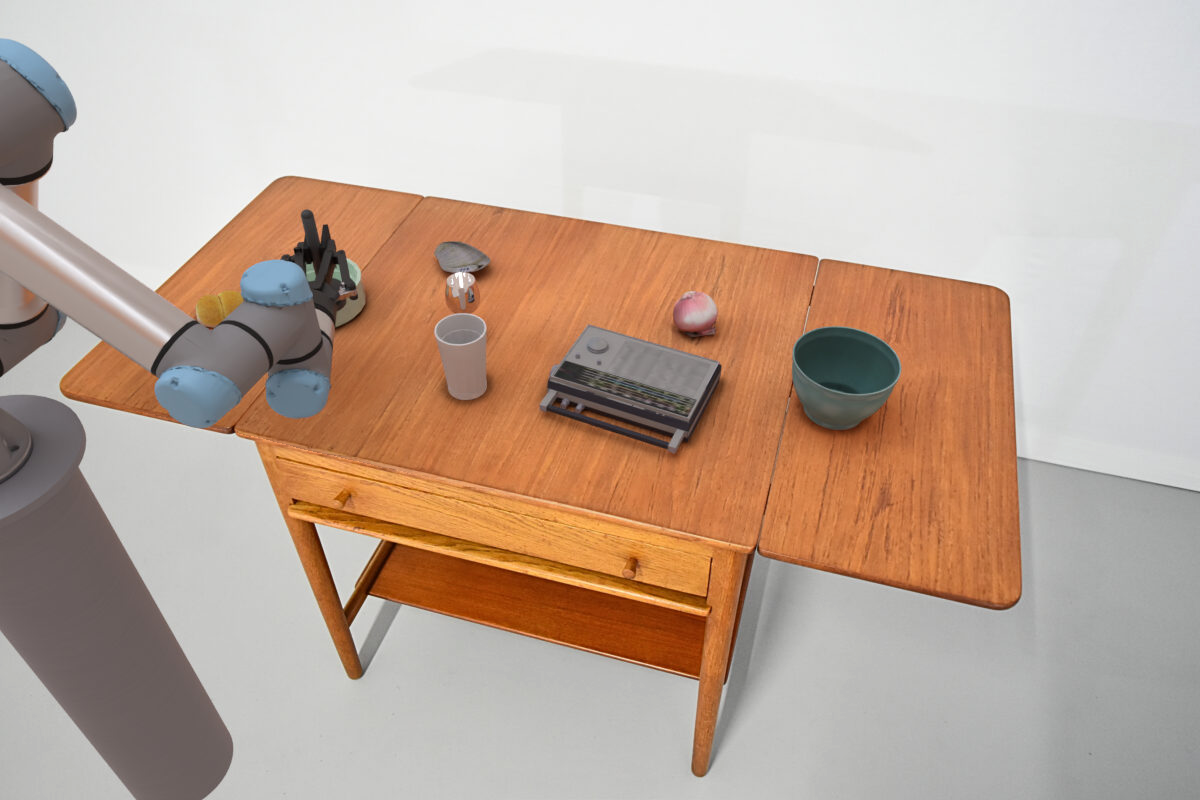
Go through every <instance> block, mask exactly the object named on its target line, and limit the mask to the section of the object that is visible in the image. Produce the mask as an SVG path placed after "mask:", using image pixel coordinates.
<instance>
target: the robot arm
mask: <svg viewBox="0 0 1200 800" xmlns="http://www.w3.org/2000/svg"><path fill="white" fill-rule="evenodd" d="M77 117H78V109H77V105H76V101H75V99H74V96H73V94H72V92H71V90H70V88H69V87H68V85H67V83H66V81H64V80H63V79H62V77H61V75H60V74H59V72H58V71H57V70H56V69H55V68H54V67H53V66H52V65H51V63H49V62H48V61H47V60H46V59H45V58H44V57H43V56H42V55H41V54H39V53H37V51H35V50H34V49H32V48H30V47H29V46H27V45H25V44H24V43H21V42H20V41H16V40H14V39H11V38H2V37H1V38H0V378H2V377H3V376H4V375H5V374H7V373H8V372H9V371H11V370H12V369H14V368H15V367H16V366H17V365H18V364H21V363H22V361H24V360H25V359H26V358H28V357H29V356H30V355H32V354H33V353H34V352H36V351H37V350H38V349H40V348H41V347H43V346H44V345H46V344H48V343H49V342H51V341H53V338H55V337H56V335H57V334H58V333H59V332H60V331H61V330H62V329H64V327H65V325H66V323H67V318H69V319H70V320H72V321H73V322H74V323H76V324H77V325H79V326H80V327H82V328H83V329H85V330H86V331H88V332H89V333H91V334H92V335H94V336H95V337H97V338H98V339H100V340H101V341H103V342H104V343H105V344H107V345H109V346H110V347H112V348H113V349H114V350H116V351H117V352H119V353H120V354H122V355H123V356H125V357H126V358H128V359H130V360H131V361H132V362H133V363H135V364H136V365H138V366H139V367H140V368H143V369H144V370H146V372H149V373H151V375H153V376H154V377H156V378H157V380H156V382H155V384H154V395H155V398H156V400H157V402H158V404H159V405H160V406H161V407H162V408H163V409H165V410H166V411H167V412H168V415H169V416H170V417H171V418H173V419H174V420H175V421H177V422H179V423H180V424H183V425H185V426H187V427H190V428H195V429H206V428H209V427H212V426H214V425H215V424H216V423H218V422H219V421H220V420H222V418H223V417H225V416H226V415H227V414H228V413H229V412H230V411H232V409H234V408H236V406H238V405H239V404H240V403H241V401H242V400H243V398H244V397H245V396H246V395H247V394H248V393H249V392H250V391H251V389H253V387H254V386H255V385H257V383H258V382H259V381H260V380H261V379H262V378H263V377H264V376H265V375H266V374H267V379H266V380H265V384H264V386H265V399H266V402H267V404H268V405H269V407H270V408H271V410H273V412H275V413H276V414H278V415H280V416H282V417H285V418H288V419H296V420H299V419H308V418H312V417H314V416H317V415H318V414H319V413H321V412H322V411H323V410H324V409H325V407H326V406H327V403H328V399H329V395H330V391H331V388H332V384H331V378H332V366H333V365H332V364H333V352H334V343H335V334H336V327H335V325H336V315H337V308H338V307H339V306H340V304H341V300H343V299H346V298H350V299H351V300H357V299H358V293H357V288H356V284H355V282H354V281H353V280H352V279H351V278H350V274H349V268H348V263H347V259H346V258H347V254H346V251H345V250H344V249H339V250H337V244H336V241H335V239H334V238H332V237H331V232H330V227H329V224H327V223H326V224H322V229H321V236H320V244H321V245H320V251H321V255H322V262H321V265H320V269H319V272H318V274H316V278H315V281H308V280H307V275H306V264H312V259H311V255H310V251H309V247H308V243H307V239H306V235H305V234H304V239H303V241H298V242H297V244H296V246H294V247H293V254H292V255H290V254H289V253H287V254H285V253H284V254H282V255H281V257H280V259H268V260H267V259H266V260H264V261H260V262H257V263H255V264H253V265H250V267H248V268H247V269H246V270H244V272H243V273H242V275H241V277H240V281H239V287H240V288H239V289H240V293H241V296H242V297H243V300H244V301H243V303H242V304H240V305H239V306H238V307H237V308H236V309H235V310H234V311H233V312H232V313H231V314H229V315H228V316H227V317H226V318H225V319H224V320H223V321H222V322H221V323H219V324H218V325H217V326H216V327H214V328H212V329H209V327H206V326H204V325H202V324H200V323H199V322H198V320H196V319H195V318H193V317H192V316H191V315H189V314H187V313H186V312H185V311H183V310H182V309H180V308H179V307H177V306H176V305H175V304H173V303H172V302H170V301H169V300H168V299H166V298H164V297H163V296H162V295H160V294H159V293H158V292H156V291H155V290H153V289H152V288H150V287H149V286H147V285H146V284H144V282H142V281H140V280H139V279H138V278H136V277H135V276H133V275H132V274H130V273H129V272H127V271H126V270H125V269H123V268H122V267H120V266H119V265H117V264H116V263H114V262H113V261H112V260H110V259H109V258H108V257H106V256H105V255H103V254H101V253H100V252H99V251H97V250H96V249H94V248H93V247H92V246H91V245H89V244H88V243H86V242H85V241H83V240H82V239H80V237H78V236H76V235H74V234H73V233H72V232H71V231H69V230H68V229H66V228H65V227H63V226H62V225H60V224H59V223H57V222H56V221H55V220H53V219H52V218H51V217H49V216H48V215H46V214H45V213H43V212H42V211H40V210H39V180H41V179H43V178H44V177H46V175H47V174H48V173H49V172H50V170H51V169H52V166H53V162H54V142H55V138H56V137H57V135H59V134H61V133H65V132H68V131H69V130H70V128H71V127H72V126H73V125H75V122H76V121H77ZM336 264H337V265H339V268H340V274H341V279H342V282H341V286H340V290H339V291H337V290H335V289H334V288H333V287H332V286H330V285H331V281H332V277H333V273H334V269H335V267H336V268H337V266H336ZM33 446H34V444H33V439H32V436H31V435H30V433H29V431H28V430H27V428H26V427H25V426H24V425H23V424H22V423H21V422H20V421H19V420H17V419H16V418H15V417H13V416H12V415H10V414H9V413H8V412H6V411H5V410H4V409H2V408H1V407H0V484H2V483H3V482H5V481H7V480H8V479H10V478H11V477H12V476H14V475H15V474H16V473H17V472H18V471H19V470H20V469H21V468H22V467H23V466H24V465H25V464H26V463H27V461H28V460H29V458H30V456H31V454H32V451H33Z"/></svg>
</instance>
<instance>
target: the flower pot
mask: <svg viewBox="0 0 1200 800" xmlns="http://www.w3.org/2000/svg"><path fill="white" fill-rule="evenodd" d="M791 357H792V358H791V360H792V364H791V378H792V384H793V388H794V392H795V393H796V396H797V398H798V400H799V402H800V403H801V405H802V408H803V412H804V413H805V415H806V417H808V419H809V420H810V421H812V422H813V423H814V424H816V425H818V426H820V427H822V428H825V429H829V430H832V431H833V430H834V431H845V430H850V429H853V428H855V427H857V426H858V425H859V424H861V422H862V421H864V420H866V419H868V418H869V417H871V416H872V415H874V414H875V413H877V411H879V410H880V409H881V408H882V407H883V406H884V405H885V403H886V402H887V401H888V400H889V398H890V396H891V395H892V393H893V390H894V388H895V387H896V385H897V384H898V382H899V380H900V377H901V375H902V362H901V360H900V357H899V355H898V354H897V352H896V351H895V350H894V349H893V348H892V347H891V345H890V344H888V343H887V342H886V341H884V340H883V339H882V338H880V337H878V336H877V335H875V334H872V333H870V332H867V331H864V330H862V329H859V328H855V327H850V326H841V325H834V326H833V325H831V326H829V325H828V326H821V327H817V328H814V329H811V330H808V331H807V332H805V333H803V334H802V335H801V336H799V337H798V339H797V340H796V341H795V343H794V344H793V347H792V355H791Z"/></svg>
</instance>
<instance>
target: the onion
mask: <svg viewBox="0 0 1200 800" xmlns="http://www.w3.org/2000/svg"><path fill="white" fill-rule="evenodd" d="M718 314H719V310H718V306H717V304H716V302H715V301H714V300H713V298H712V297H711V296H709V295H708V294H706V293H705V292H702V291H697V290H690V291H689V290H688V291H686V292H684V293H683V294H682V295H681V296H680V298H679V299H678V300H676V302H675V303H674V306H673V310H672V320H673V323H674V324H675V327H676V328H677V329H678V330H680V331H682V332H683V333H685V334H686V335H687V336H689V337H690V338H695V337H703V336H704V337H705V336H711V335H716V327H717V326H716V323H717V320H718V316H719V315H718ZM713 325H714V326H713Z"/></svg>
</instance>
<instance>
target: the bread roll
mask: <svg viewBox="0 0 1200 800" xmlns="http://www.w3.org/2000/svg"><path fill="white" fill-rule="evenodd" d="M243 301H244V300H243V297H242V296H241V292H239V291H236V290H224V291H221V292H219V293H218V294H216V295H215V294H205V295H203V296H201V297H200V298H199V299H197V301H196V304H195V315H196V319H197V320H196V321H197V322H199V323H200V324H202V325H204V326H205V327H207V328H212V329H214V328H215V327H216V326H217V325H218V324H219V323H221V322H222V321H223V320H224V319H225V318H226V317H227V316H228V315H229V314H231V313H232V312H233V311H234V310H235V309H236V308H237V307H238V306H239V305H240V304H242V303H243Z"/></svg>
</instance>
